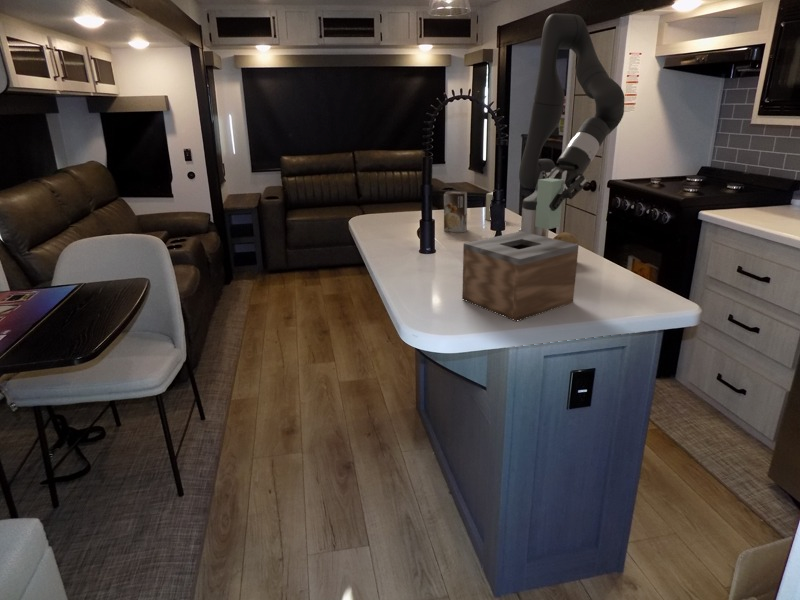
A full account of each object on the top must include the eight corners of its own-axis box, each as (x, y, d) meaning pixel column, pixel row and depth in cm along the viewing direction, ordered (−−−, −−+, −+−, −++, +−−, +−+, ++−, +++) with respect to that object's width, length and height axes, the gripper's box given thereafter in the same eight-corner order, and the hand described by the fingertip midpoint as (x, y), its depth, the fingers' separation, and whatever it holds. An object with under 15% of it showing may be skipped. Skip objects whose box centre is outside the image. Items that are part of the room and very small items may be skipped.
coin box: (462, 299, 149) (463, 243, 143) (517, 284, 161) (520, 231, 155) (516, 321, 133) (520, 259, 128) (572, 302, 145) (578, 244, 140)
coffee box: (467, 229, 231) (468, 191, 225) (464, 232, 225) (465, 194, 219) (446, 228, 233) (446, 191, 228) (443, 231, 228) (443, 193, 222)
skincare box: (491, 217, 252) (492, 191, 248) (500, 218, 250) (501, 192, 246) (484, 220, 248) (485, 193, 244) (493, 221, 245) (494, 194, 241)
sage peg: (534, 226, 141) (538, 179, 136) (545, 223, 143) (549, 178, 139) (548, 229, 137) (552, 181, 133) (559, 226, 140) (563, 179, 135)
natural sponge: (554, 256, 188) (556, 228, 185) (580, 259, 184) (583, 231, 180) (546, 263, 181) (548, 233, 177) (573, 266, 176) (576, 236, 173)
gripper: (550, 143, 143) (516, 194, 140) (596, 146, 132) (560, 202, 129) (561, 162, 147) (528, 212, 145) (607, 167, 137) (572, 220, 134)
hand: (544, 207), depth 137 cm, fingers closed on sage peg, 4 cm apart
